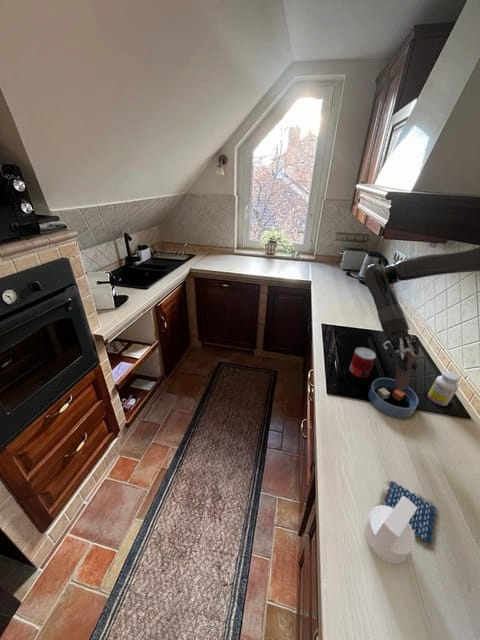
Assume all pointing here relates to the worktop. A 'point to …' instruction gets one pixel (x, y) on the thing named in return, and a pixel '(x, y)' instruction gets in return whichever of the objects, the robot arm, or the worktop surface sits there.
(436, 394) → the supplement bottle
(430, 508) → the woven mat
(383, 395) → the block
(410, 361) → the brown rectangular block
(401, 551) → the base with upright slab
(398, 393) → the block
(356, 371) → the canned food
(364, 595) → the worktop surface
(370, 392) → the bowl
